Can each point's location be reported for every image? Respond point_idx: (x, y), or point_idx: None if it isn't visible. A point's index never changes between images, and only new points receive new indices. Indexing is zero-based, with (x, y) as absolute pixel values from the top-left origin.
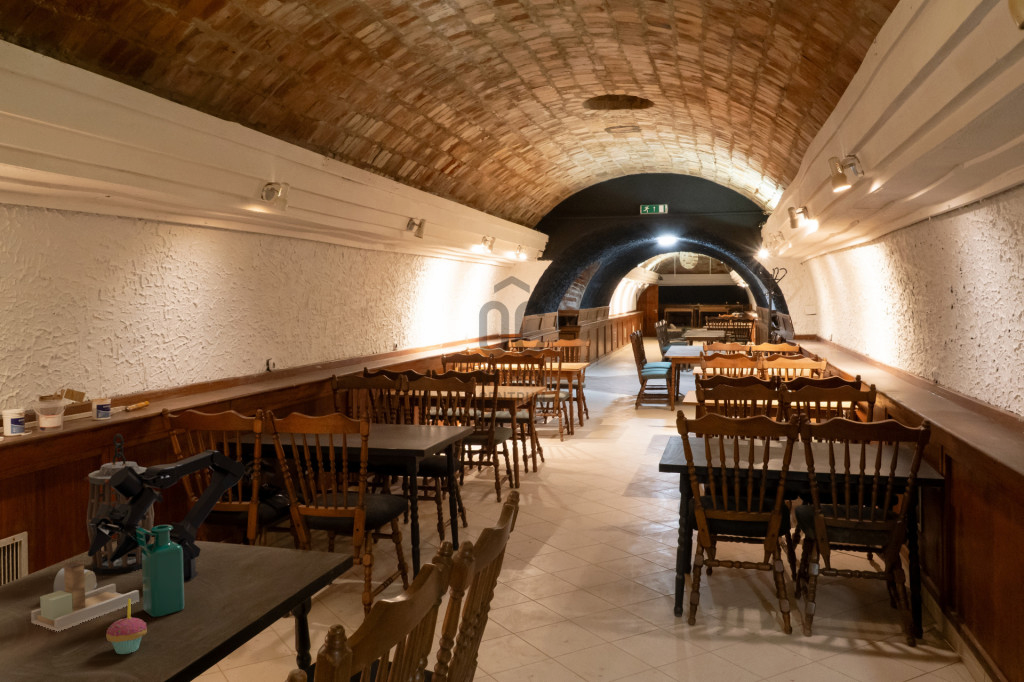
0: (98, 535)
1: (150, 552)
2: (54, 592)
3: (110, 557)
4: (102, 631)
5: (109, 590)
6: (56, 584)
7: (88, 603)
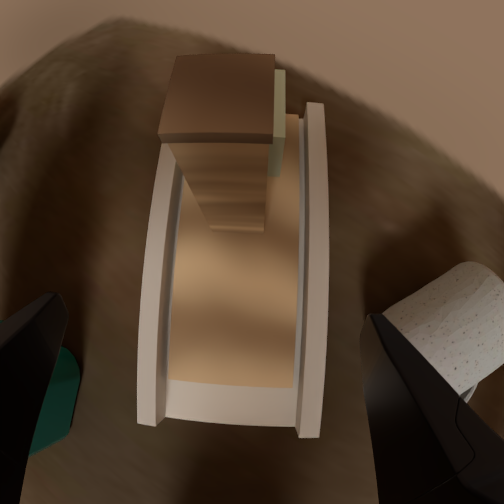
0: (453, 497)
1: None
2: (281, 113)
3: (44, 303)
4: (69, 187)
5: (298, 404)
6: (462, 265)
7: (240, 265)
